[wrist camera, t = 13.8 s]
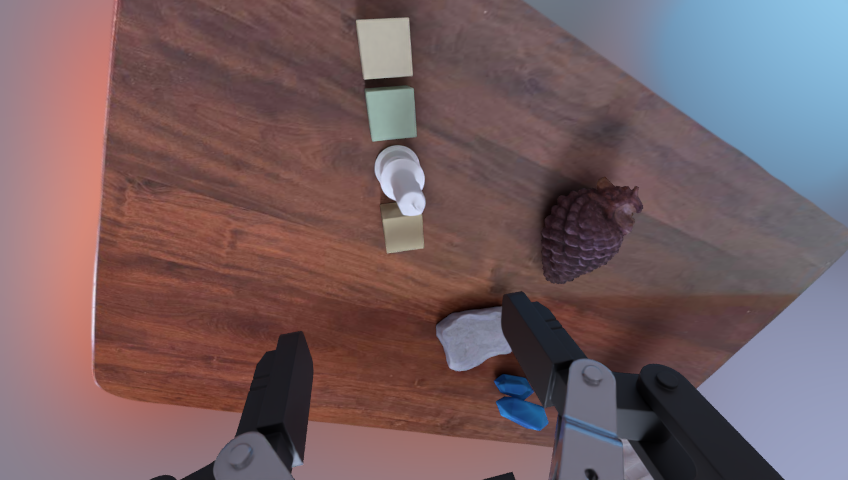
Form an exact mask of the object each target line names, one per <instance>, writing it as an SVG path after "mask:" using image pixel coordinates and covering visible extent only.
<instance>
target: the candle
mask: <svg viewBox="0 0 848 480" xmlns="http://www.w3.org/2000/svg"><path fill="white" fill-rule="evenodd" d="M375 174H376V177H377V179H378V180H379V182H380V183H381V187H382V190H383V192H384V193H385V194H386V195H387V196H388V197H389V198H391V199H393V200H395V201H396V202H397V204H398V207H399V209H400V210H401V212H402V214H403V215H406V216H416V215H420V214H422V212H423V210H424V207H425V203H426V201H425V197H424V194H423V192H422V189H423V186H424V181H425V177H424V173H423V170H422V168H421V167H420V163H419V159H418V157H417V156H416V154H415V153H414V152H413V151H412V150H411V149H409V148H407V147H405V146H401V145H394V146H390V147H388V148H386V149H384V150H383V151H382V152H381V153H380V154H379V155H378V157H377V159H376V162H375Z"/></svg>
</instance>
